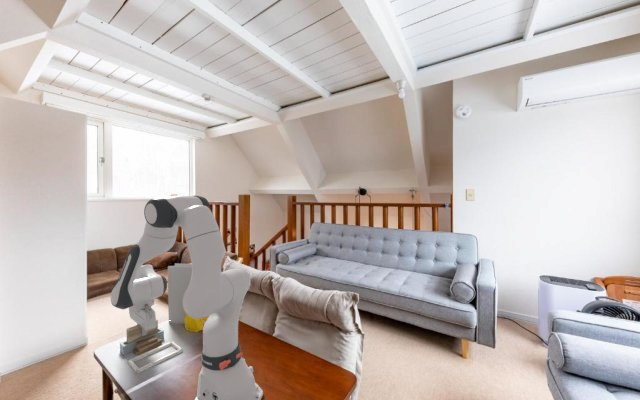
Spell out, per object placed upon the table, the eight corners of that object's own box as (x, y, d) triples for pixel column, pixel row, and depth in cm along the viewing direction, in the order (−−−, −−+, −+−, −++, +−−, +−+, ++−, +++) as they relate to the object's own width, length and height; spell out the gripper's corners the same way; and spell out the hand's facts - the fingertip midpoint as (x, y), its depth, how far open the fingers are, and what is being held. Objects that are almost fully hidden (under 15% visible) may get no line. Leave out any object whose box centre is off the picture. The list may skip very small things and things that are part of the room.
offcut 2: (161, 342, 109) (161, 339, 108) (140, 352, 102) (140, 349, 102) (157, 339, 111) (157, 336, 111) (136, 349, 104) (136, 346, 104)
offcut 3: (162, 346, 108) (162, 343, 108) (137, 356, 101) (137, 353, 101) (157, 342, 111) (157, 339, 111) (133, 352, 104) (133, 349, 104)
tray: (182, 353, 104) (182, 348, 104) (137, 376, 92) (137, 370, 91) (172, 345, 110) (172, 341, 110) (128, 365, 97) (128, 360, 97)
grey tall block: (201, 320, 132) (200, 264, 132) (195, 326, 127) (194, 267, 126) (175, 319, 134) (175, 263, 133) (168, 324, 128) (167, 266, 128)
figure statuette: (215, 329, 123) (214, 285, 123) (203, 338, 116) (202, 291, 115) (187, 324, 129) (186, 281, 128) (174, 331, 121) (173, 286, 121)
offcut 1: (157, 341, 107) (157, 338, 107) (137, 348, 102) (137, 345, 102) (155, 338, 110) (155, 335, 110) (135, 345, 105) (135, 342, 105)
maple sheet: (158, 339, 113) (157, 319, 113) (128, 351, 104) (128, 330, 104) (156, 338, 114) (155, 318, 114) (126, 350, 106) (126, 328, 105)
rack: (171, 346, 110) (170, 335, 110) (129, 364, 98) (129, 353, 98) (159, 337, 117) (159, 327, 117) (119, 353, 105) (119, 342, 105)
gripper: (160, 305, 105) (160, 338, 106) (142, 294, 118) (142, 323, 118) (142, 311, 100) (143, 345, 101) (125, 298, 113) (126, 329, 113)
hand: (142, 333), depth 109 cm, fingers closed on maple sheet, 2 cm apart
